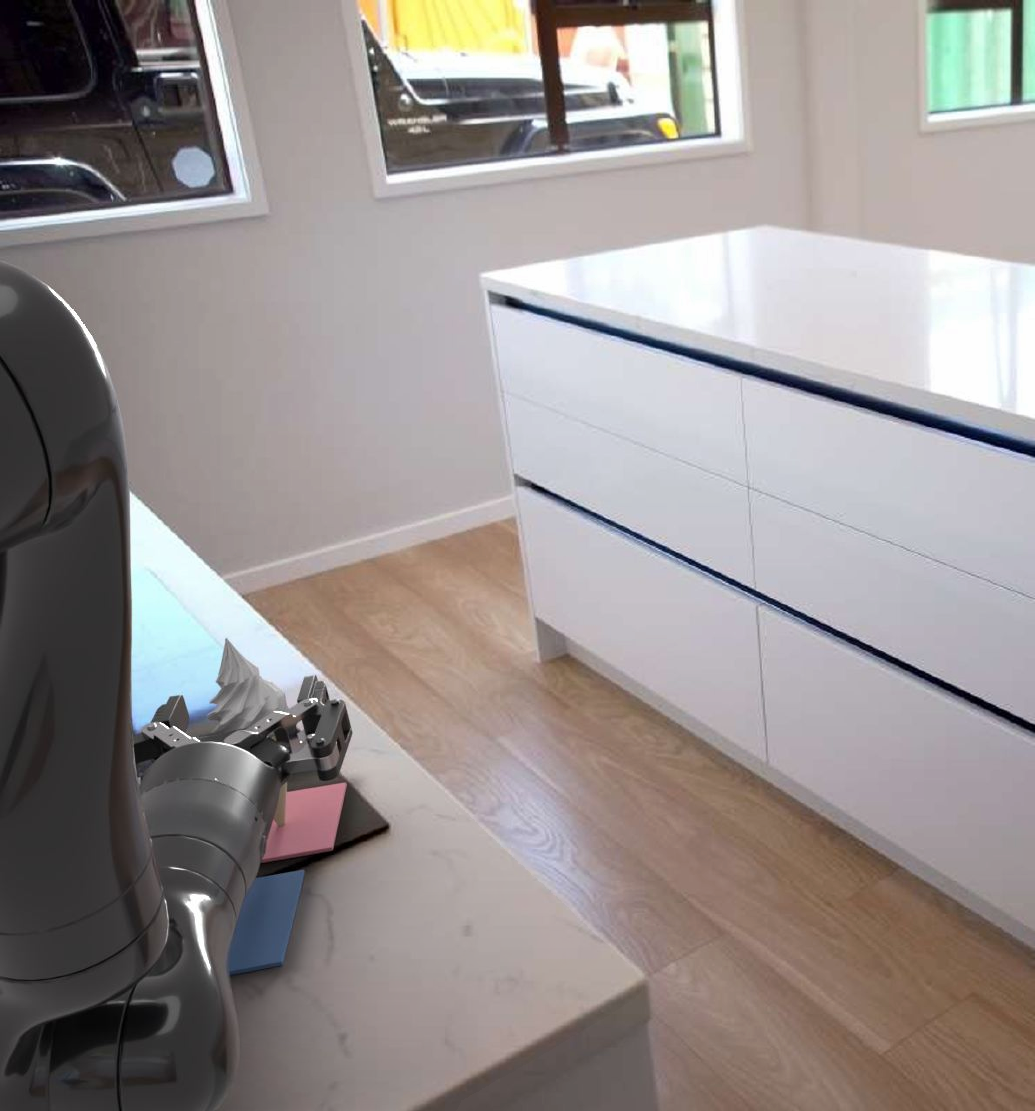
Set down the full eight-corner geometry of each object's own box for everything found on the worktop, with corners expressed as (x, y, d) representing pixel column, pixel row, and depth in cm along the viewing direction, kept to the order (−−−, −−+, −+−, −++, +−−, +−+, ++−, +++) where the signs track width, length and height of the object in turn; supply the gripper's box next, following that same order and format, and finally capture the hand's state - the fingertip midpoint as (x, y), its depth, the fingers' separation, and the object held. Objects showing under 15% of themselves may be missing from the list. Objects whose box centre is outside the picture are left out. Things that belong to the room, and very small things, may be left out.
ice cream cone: (262, 856, 85) (202, 664, 79) (230, 827, 88) (170, 640, 82) (332, 820, 89) (280, 632, 82) (299, 793, 92) (246, 611, 85)
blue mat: (103, 999, 74) (101, 995, 74) (143, 901, 82) (142, 898, 82) (282, 965, 76) (281, 961, 76) (305, 873, 84) (304, 869, 84)
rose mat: (207, 872, 84) (206, 869, 84) (231, 804, 92) (231, 801, 91) (332, 850, 86) (331, 847, 86) (347, 785, 93) (346, 782, 93)
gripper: (311, 761, 71) (345, 632, 85) (35, 806, 68) (118, 664, 83) (340, 869, 74) (368, 726, 88) (76, 915, 71) (150, 761, 86)
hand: (247, 697), depth 86 cm, fingers open, 8 cm apart
